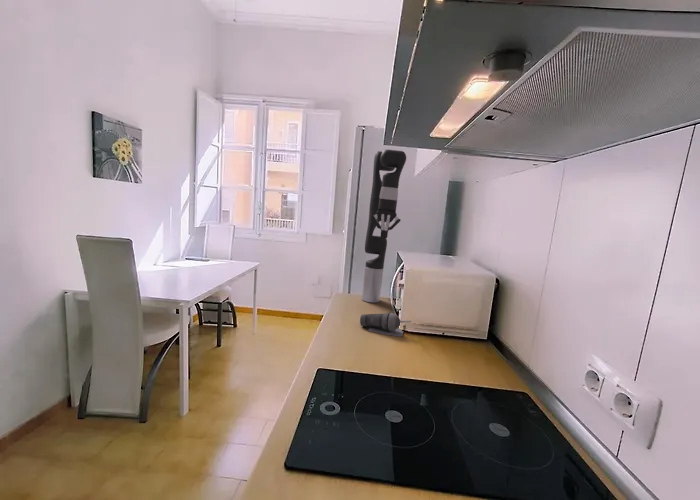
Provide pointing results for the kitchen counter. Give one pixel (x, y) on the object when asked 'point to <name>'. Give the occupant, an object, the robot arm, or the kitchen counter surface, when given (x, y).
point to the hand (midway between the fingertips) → (383, 239)
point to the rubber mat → (387, 332)
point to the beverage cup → (381, 321)
